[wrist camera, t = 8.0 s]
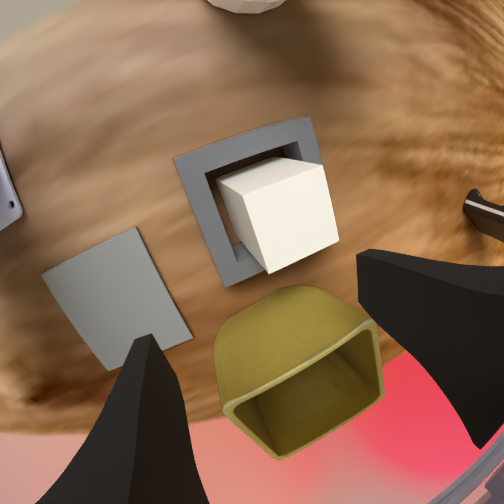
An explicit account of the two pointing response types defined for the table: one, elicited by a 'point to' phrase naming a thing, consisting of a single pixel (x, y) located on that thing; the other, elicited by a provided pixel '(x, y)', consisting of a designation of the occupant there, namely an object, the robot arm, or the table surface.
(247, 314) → the flower pot
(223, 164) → the socket housing
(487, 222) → the battery charger
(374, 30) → the table surface
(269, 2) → the white cup
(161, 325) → the mat
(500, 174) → the table surface
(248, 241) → the plug
